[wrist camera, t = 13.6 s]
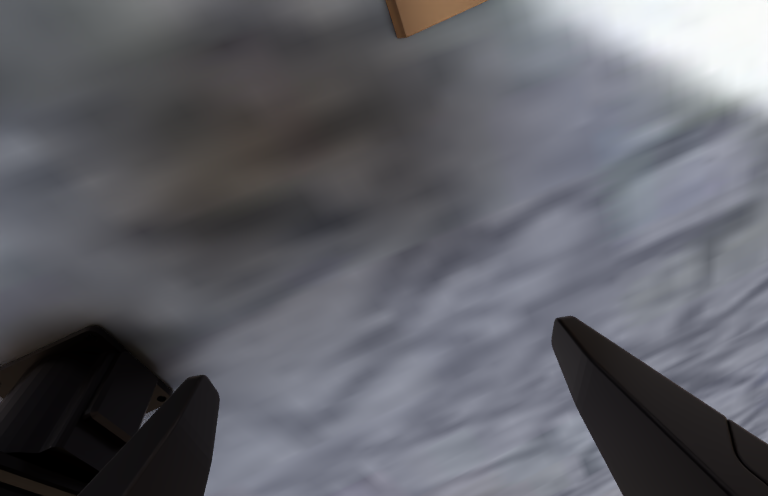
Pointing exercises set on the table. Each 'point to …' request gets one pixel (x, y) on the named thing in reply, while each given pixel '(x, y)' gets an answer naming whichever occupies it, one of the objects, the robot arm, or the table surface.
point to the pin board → (424, 13)
